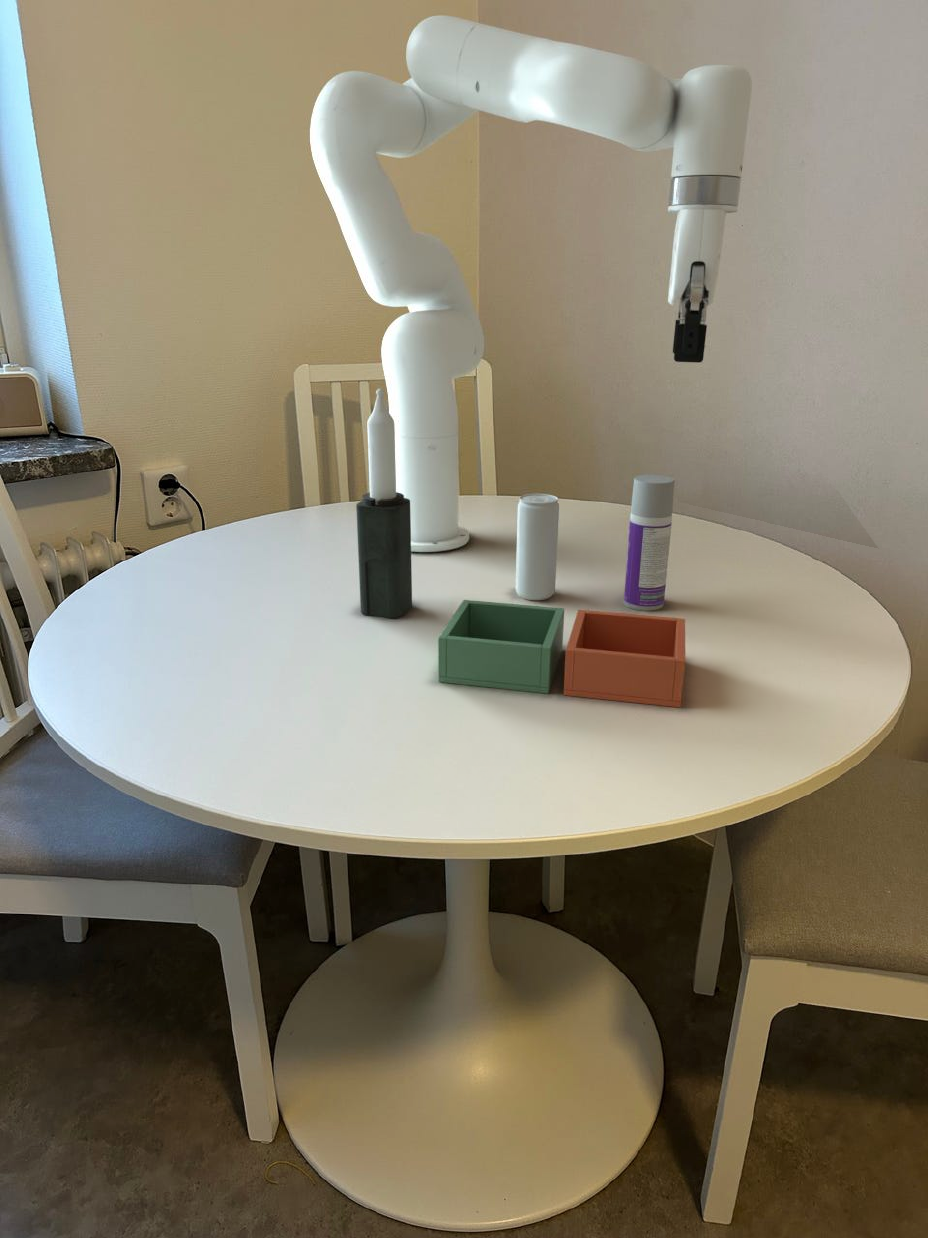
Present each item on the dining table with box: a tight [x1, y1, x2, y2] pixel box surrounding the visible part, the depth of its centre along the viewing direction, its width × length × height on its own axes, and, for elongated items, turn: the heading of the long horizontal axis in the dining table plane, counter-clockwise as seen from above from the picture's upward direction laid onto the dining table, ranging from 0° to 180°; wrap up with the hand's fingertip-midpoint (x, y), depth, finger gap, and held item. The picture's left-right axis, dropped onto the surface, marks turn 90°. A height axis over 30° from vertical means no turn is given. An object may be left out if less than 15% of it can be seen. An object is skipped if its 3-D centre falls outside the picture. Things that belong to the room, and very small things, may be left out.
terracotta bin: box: [563, 609, 686, 708], centre depth 84 cm, size 11×11×5 cm
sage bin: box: [437, 599, 565, 694], centre depth 86 cm, size 11×11×5 cm
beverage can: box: [514, 493, 560, 601], centre depth 104 cm, size 5×5×12 cm
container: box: [623, 474, 675, 612], centre depth 101 cm, size 5×5×15 cm
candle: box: [355, 387, 413, 619], centre depth 97 cm, size 5×5×25 cm
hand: (686, 357), depth 103 cm, fingers open, 9 cm apart
